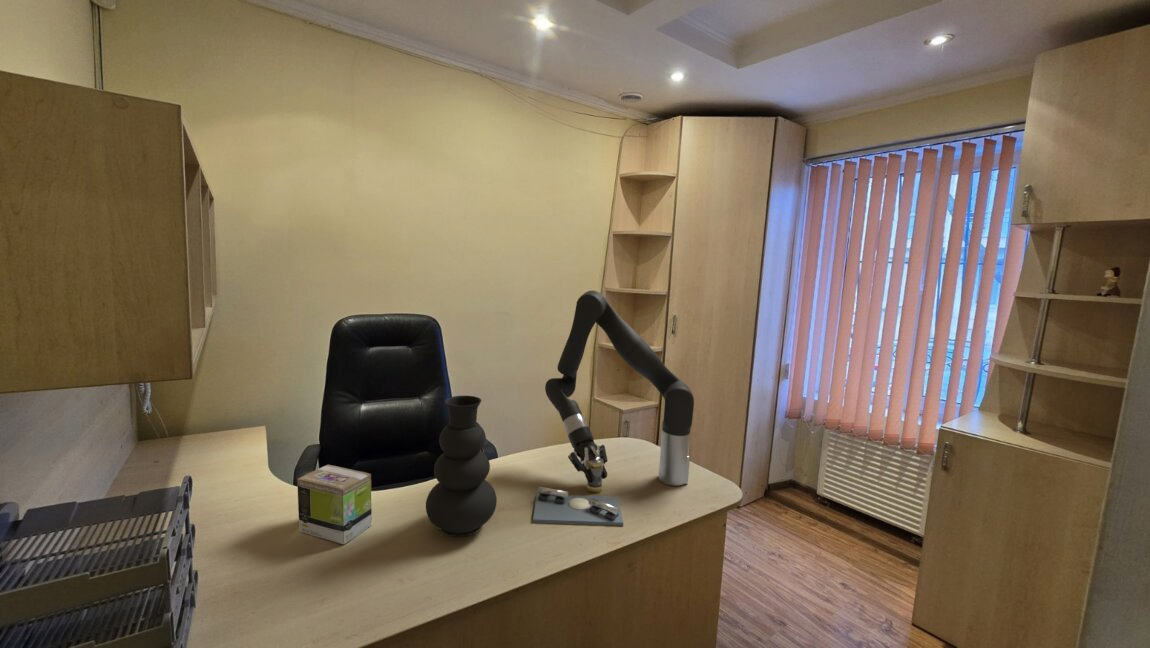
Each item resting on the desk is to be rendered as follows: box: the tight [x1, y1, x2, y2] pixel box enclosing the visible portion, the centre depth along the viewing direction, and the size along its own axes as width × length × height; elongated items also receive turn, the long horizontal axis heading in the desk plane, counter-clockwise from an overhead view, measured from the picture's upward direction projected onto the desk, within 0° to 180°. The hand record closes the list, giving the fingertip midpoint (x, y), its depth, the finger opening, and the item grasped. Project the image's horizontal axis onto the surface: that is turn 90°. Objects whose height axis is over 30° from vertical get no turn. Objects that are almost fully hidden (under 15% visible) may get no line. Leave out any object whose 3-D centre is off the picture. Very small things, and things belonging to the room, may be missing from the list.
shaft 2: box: [589, 498, 619, 521], centre depth 134 cm, size 9×4×4 cm, turn 56°
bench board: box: [532, 493, 624, 527], centre depth 136 cm, size 25×14×1 cm, turn 91°
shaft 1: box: [537, 486, 570, 504], centre depth 140 cm, size 9×4×4 cm, turn 76°
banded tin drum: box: [586, 456, 603, 494], centre depth 149 cm, size 5×5×10 cm
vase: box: [425, 395, 498, 537], centre depth 123 cm, size 18×18×35 cm
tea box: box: [296, 464, 373, 545], centre depth 121 cm, size 15×10×15 cm, turn 71°
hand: (598, 479), depth 147 cm, fingers closed on banded tin drum, 4 cm apart
